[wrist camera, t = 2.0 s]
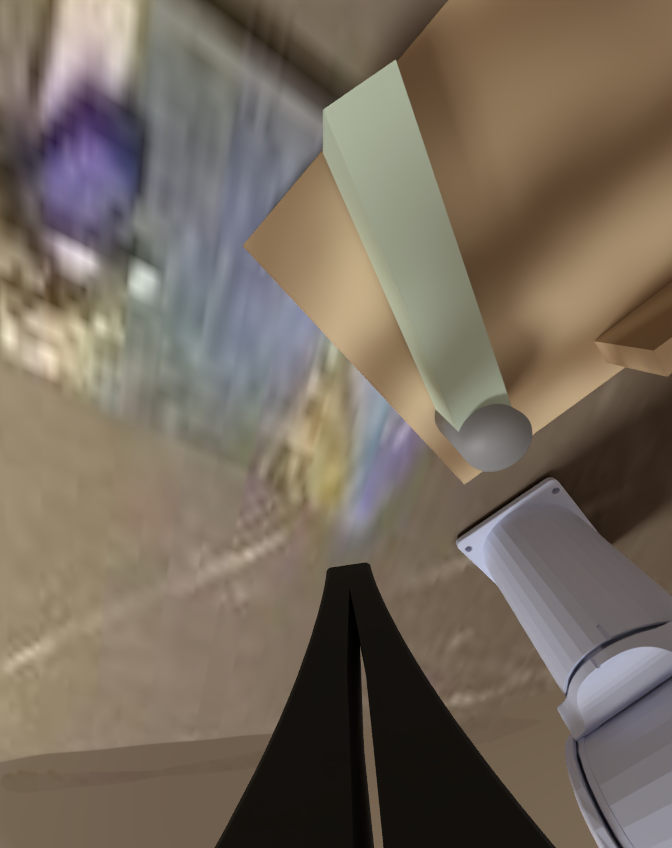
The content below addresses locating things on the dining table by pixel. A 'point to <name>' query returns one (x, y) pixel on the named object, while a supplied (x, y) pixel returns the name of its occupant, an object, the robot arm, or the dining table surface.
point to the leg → (421, 267)
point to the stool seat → (515, 204)
